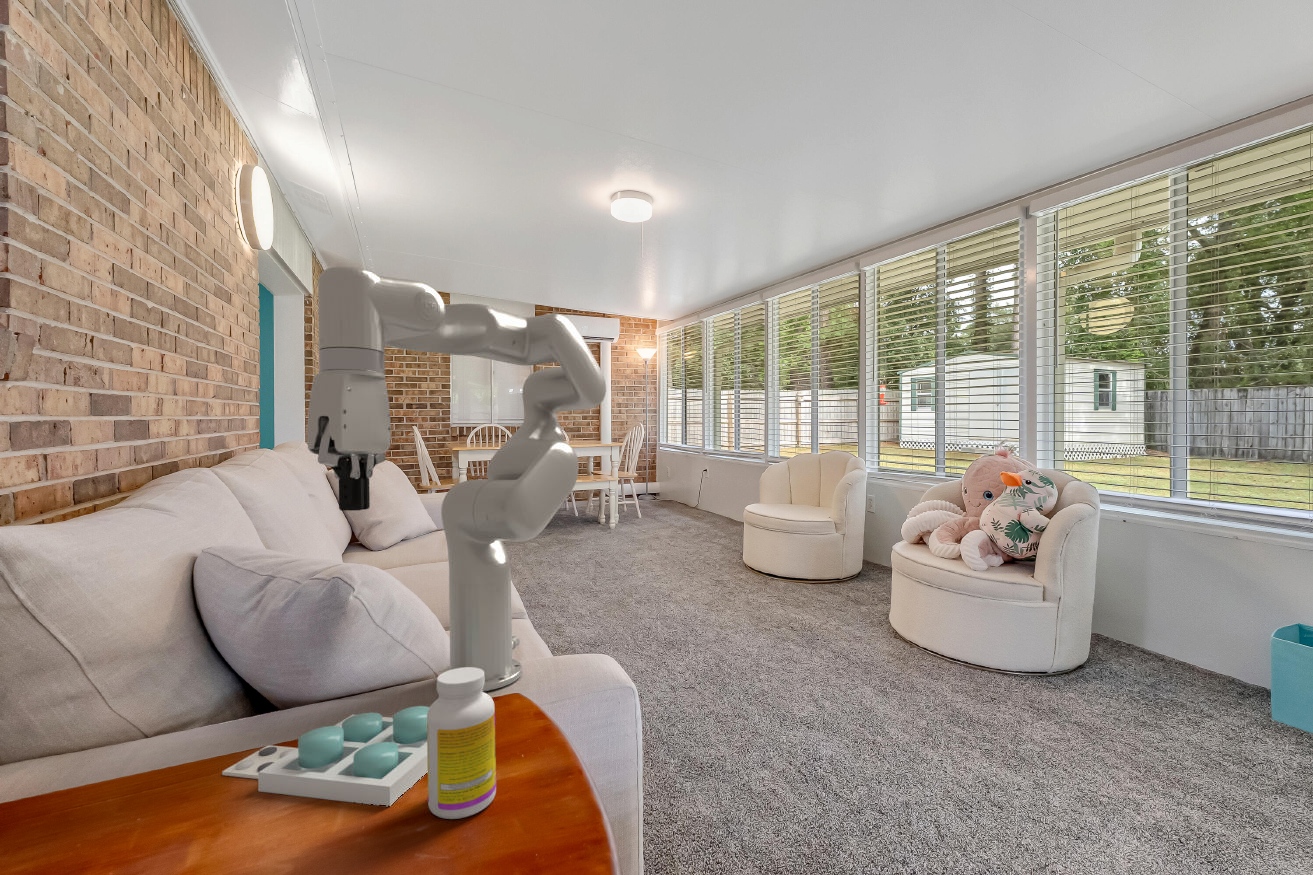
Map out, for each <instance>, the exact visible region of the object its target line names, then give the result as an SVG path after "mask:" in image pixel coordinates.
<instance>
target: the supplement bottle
mask: <svg viewBox="0 0 1313 875" xmlns="http://www.w3.org/2000/svg"><path fill="white" fill-rule="evenodd" d="M441 673H442V672H441ZM441 673H440V674H439V675H438V676H437V677H436V688H435V690H436V691H437V695H438V698H437V699H436V700H434V702H433V703H431V705H430V706H429V707H430V708H429V710H428V713H427V764H428V773H427V804H428V809H429V810H430V812H431V813H432V814H433V815H435V816H437V817H438V818H441V819H447V820H448V819H449V820H454V819H455V820H457V819H458V820H459V819H463V818H467V817H470V816H473V815H476V814H477V813H479V812H481V811H482V810H484V809H486V808H487V807H489V805H490V804H491V803H492V802H493V800H494V798H495V796H496V793H497V762H496V761H497V760H496V758H497V756H496V755H497V754H496V716H495V714H496V712H495V702H494V700H493V698H492V696H490V695H489V694H487V693H486V692H485V691H483V692H482V689H483V687H484V683H485V677H484V671H483V670H482V669H479V668H474V667H464V668H457V669H452V670H449V671H446V672H444V673H442V674H441Z"/></svg>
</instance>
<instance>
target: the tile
mask: <svg viewBox="0 0 1313 875" xmlns="http://www.w3.org/2000/svg"><path fill="white" fill-rule="evenodd" d="M297 748H298V747H292V746H282V745H281V746H280V745H279V746H278V745H271V744H270V745H269V744H268V745H266V746H264V747H262V748H260V749H259V750H260V751H259V750H257V751H255V752H253V753H252V754H249V756H247V757H245V758H243V759H241V760H240V761H238V762H237V763H235V764H233V765H231V766H229V767H227V768H226V769H224V770H222V771H221V772H222V774H221V775H222V776H229V777H236V778H237V777H238V778H244V779H245V778H246V779H254V780H258V772H260V771H261V770H263V769H265V768H266V767H268V766H269V765H271V764H273V763H274V762H276V761H278V760H279V759H281V758H282V757H284V756H286V755H287V754H289V753H291V752H292V751H294V750H295V749H297Z"/></svg>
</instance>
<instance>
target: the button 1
mask: <svg viewBox="0 0 1313 875" xmlns="http://www.w3.org/2000/svg"><path fill="white" fill-rule="evenodd" d="M297 748H298V765H299V766H300V767H302V768H318V767H323V766H326V765H329V764H331V763H333V762H335V761H337V760H338V759H340V758H341V757H342V756H343V754H344V730H343V728H341V727H338V726H335V725H328V726H321V727H318V728H314V729H311V730H309V731H307V732H305V733H303V734H301V736H299V738H298V740H297Z"/></svg>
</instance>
